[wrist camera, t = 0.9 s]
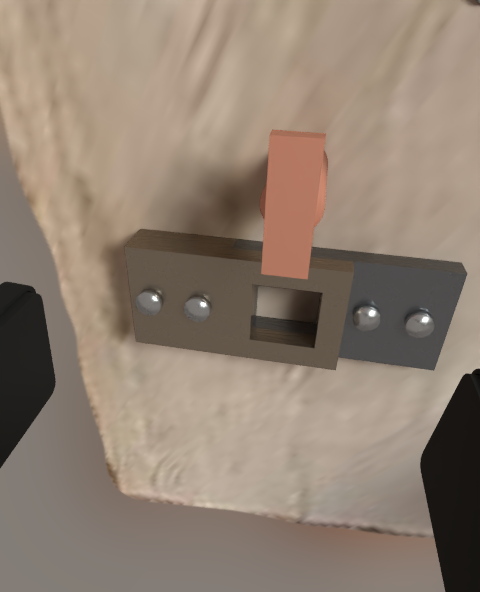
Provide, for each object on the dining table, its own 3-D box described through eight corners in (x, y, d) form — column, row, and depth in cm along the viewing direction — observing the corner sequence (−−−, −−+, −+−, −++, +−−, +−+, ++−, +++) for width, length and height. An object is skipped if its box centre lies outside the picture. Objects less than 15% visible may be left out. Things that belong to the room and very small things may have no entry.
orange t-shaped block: (335, 106, 26) (334, 139, 19) (320, 220, 30) (315, 280, 23) (280, 102, 26) (260, 134, 20) (272, 215, 30) (253, 273, 24)
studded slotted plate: (461, 262, 30) (475, 291, 27) (430, 357, 34) (439, 390, 31) (140, 228, 33) (120, 250, 30) (149, 319, 37) (133, 346, 34)
